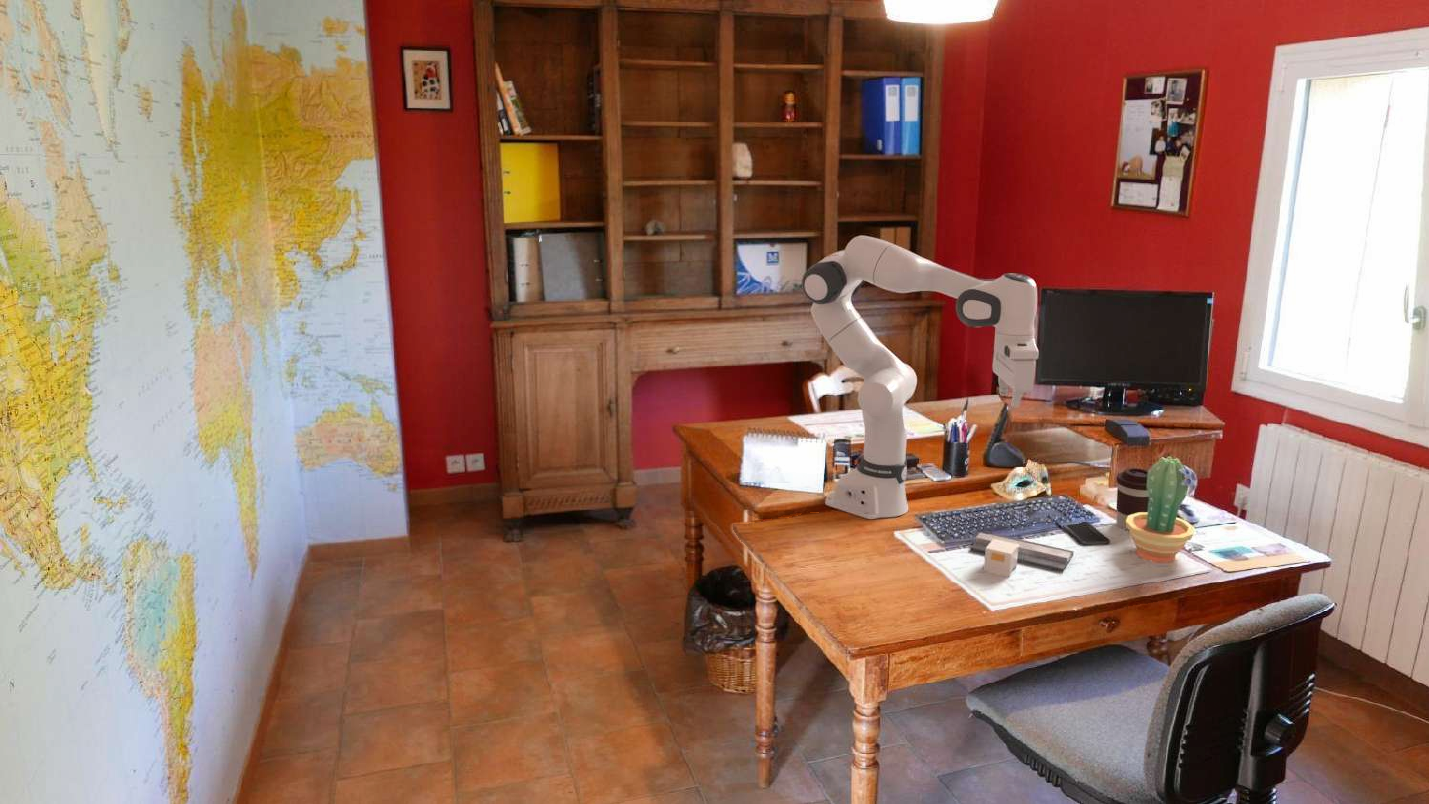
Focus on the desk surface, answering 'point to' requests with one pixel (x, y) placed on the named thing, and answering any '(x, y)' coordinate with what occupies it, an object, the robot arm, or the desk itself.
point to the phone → (1086, 534)
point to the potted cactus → (1163, 512)
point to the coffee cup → (1131, 494)
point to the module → (1001, 557)
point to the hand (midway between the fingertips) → (1009, 400)
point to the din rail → (1029, 552)
